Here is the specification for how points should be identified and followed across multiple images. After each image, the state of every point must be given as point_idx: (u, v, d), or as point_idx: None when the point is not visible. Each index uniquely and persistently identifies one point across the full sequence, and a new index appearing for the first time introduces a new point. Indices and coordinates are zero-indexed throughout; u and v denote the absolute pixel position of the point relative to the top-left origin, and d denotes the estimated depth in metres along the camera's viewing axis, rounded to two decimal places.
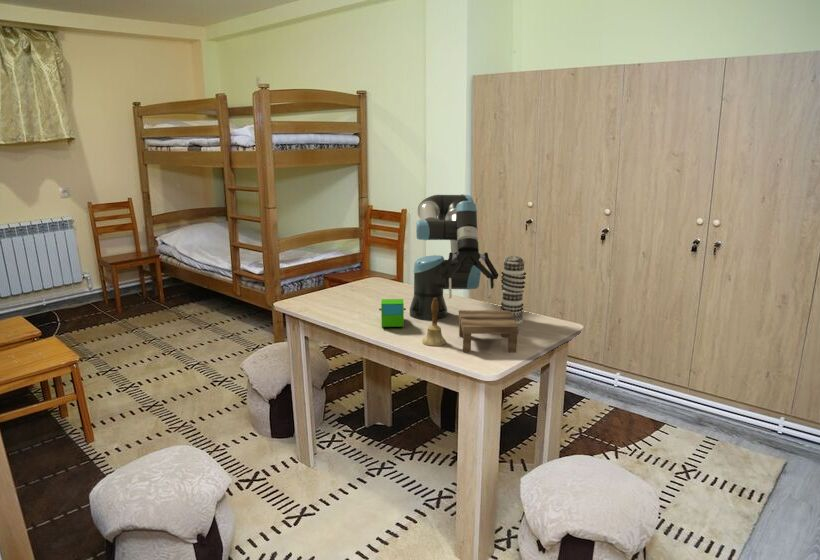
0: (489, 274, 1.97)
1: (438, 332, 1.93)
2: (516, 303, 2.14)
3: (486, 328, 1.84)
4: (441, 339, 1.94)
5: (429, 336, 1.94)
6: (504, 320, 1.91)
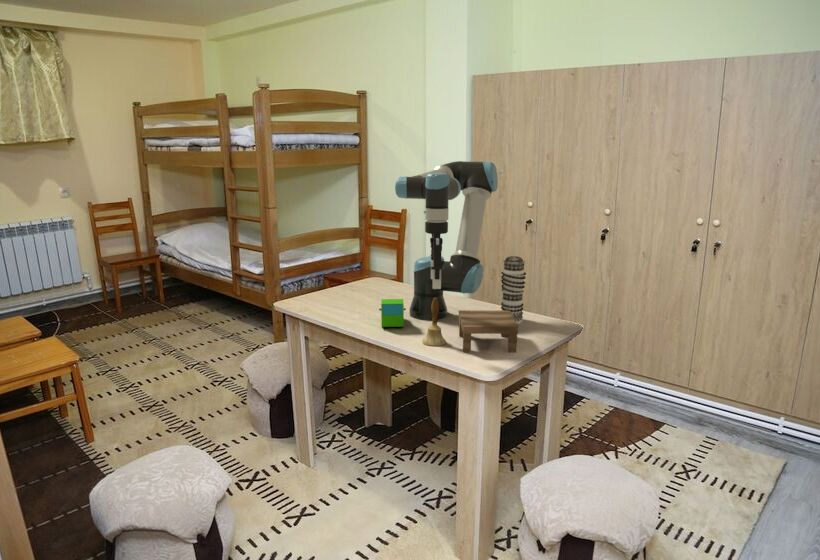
0: (433, 264, 1.82)
1: (438, 332, 1.93)
2: (516, 303, 2.14)
3: (486, 328, 1.84)
4: (441, 339, 1.94)
5: (429, 336, 1.94)
6: (504, 320, 1.91)
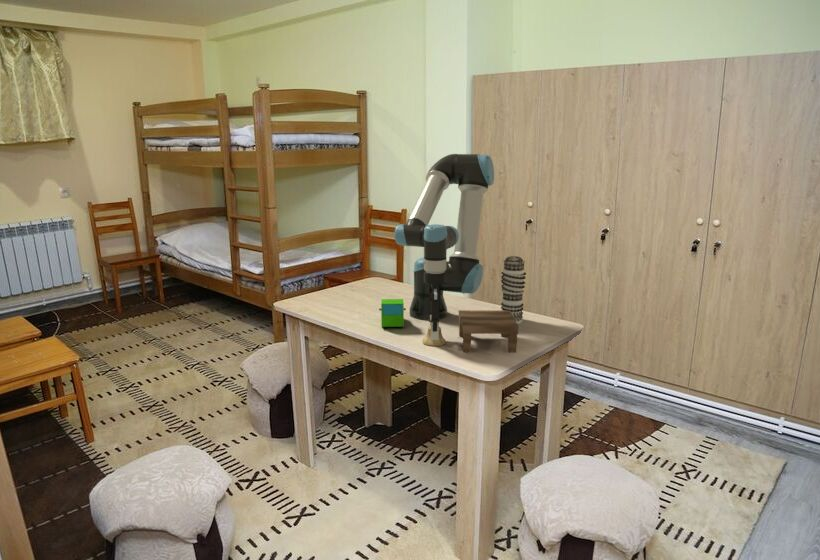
0: (431, 317, 1.90)
1: None
2: (516, 303, 2.14)
3: (486, 328, 1.84)
4: (441, 339, 1.94)
5: (429, 336, 1.93)
6: (504, 320, 1.91)
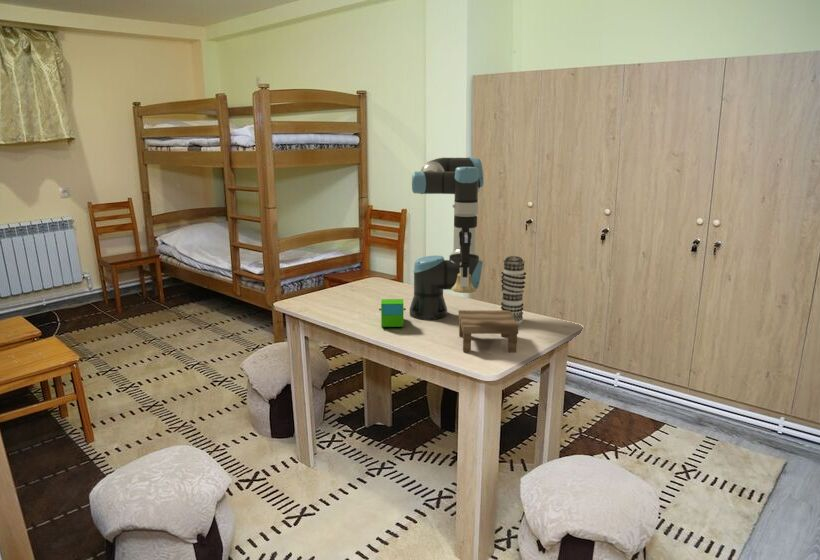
0: (461, 262, 1.84)
1: None
2: (516, 303, 2.14)
3: (486, 328, 1.84)
4: (471, 286, 1.88)
5: (458, 283, 1.88)
6: (504, 320, 1.91)
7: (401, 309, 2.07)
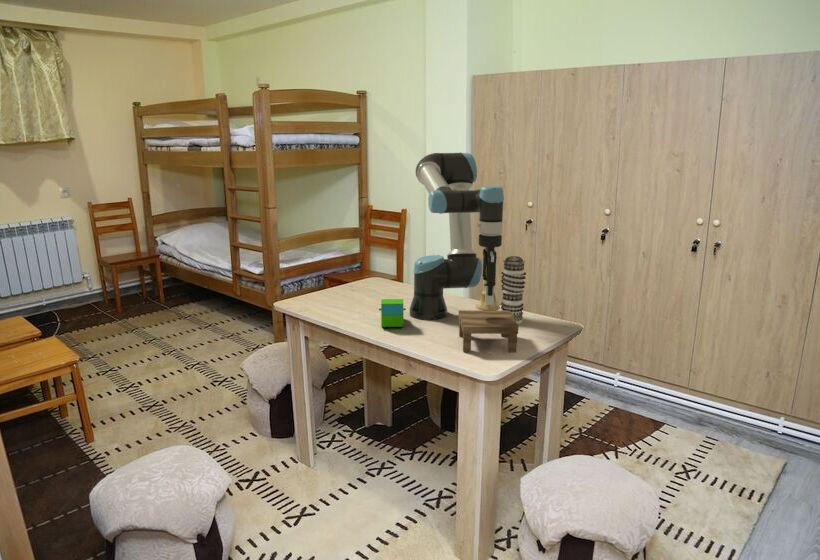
0: None
1: None
2: (516, 303, 2.14)
3: (486, 328, 1.84)
4: (495, 304, 1.90)
5: (483, 301, 1.89)
6: (504, 320, 1.91)
7: (401, 309, 2.07)
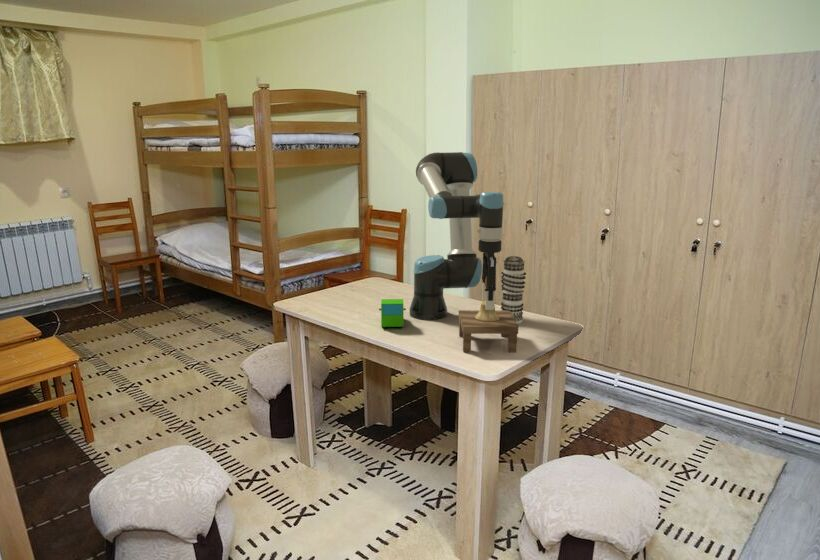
0: (487, 286, 1.85)
1: None
2: (516, 303, 2.14)
3: (486, 328, 1.84)
4: (495, 315, 1.91)
5: (482, 312, 1.90)
6: (504, 320, 1.91)
7: (401, 309, 2.07)
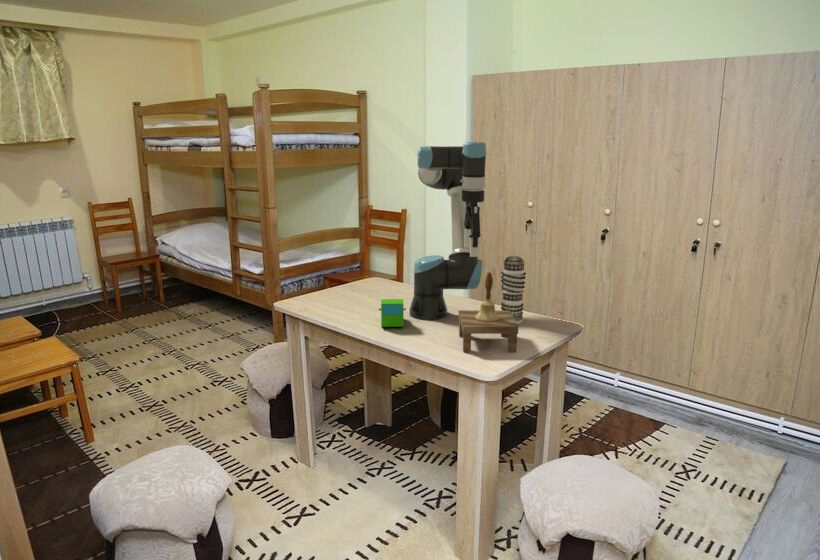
0: (471, 233, 1.85)
1: (492, 307, 1.90)
2: (516, 303, 2.14)
3: (486, 328, 1.84)
4: (495, 315, 1.91)
5: (482, 312, 1.90)
6: (504, 320, 1.91)
7: (401, 309, 2.07)
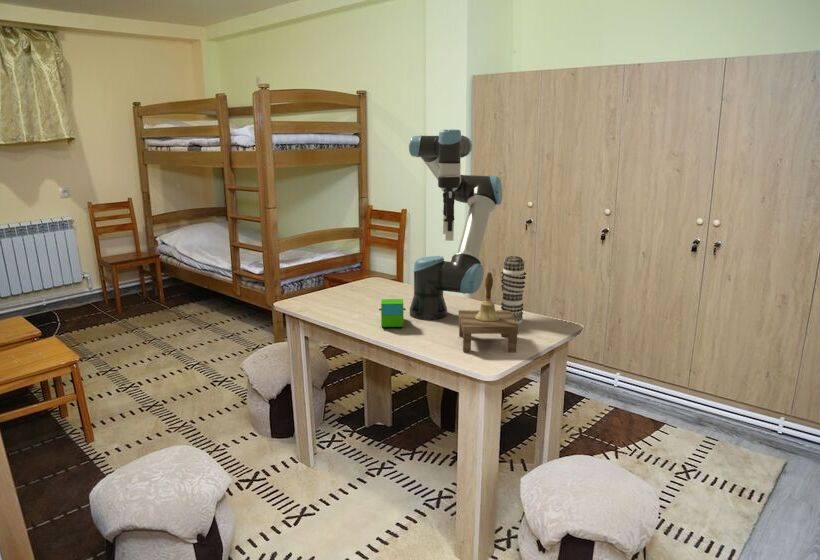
0: (446, 217, 1.90)
1: (492, 308, 1.90)
2: (516, 303, 2.14)
3: (486, 328, 1.84)
4: (495, 315, 1.91)
5: (482, 312, 1.90)
6: (504, 320, 1.91)
7: (401, 309, 2.07)
